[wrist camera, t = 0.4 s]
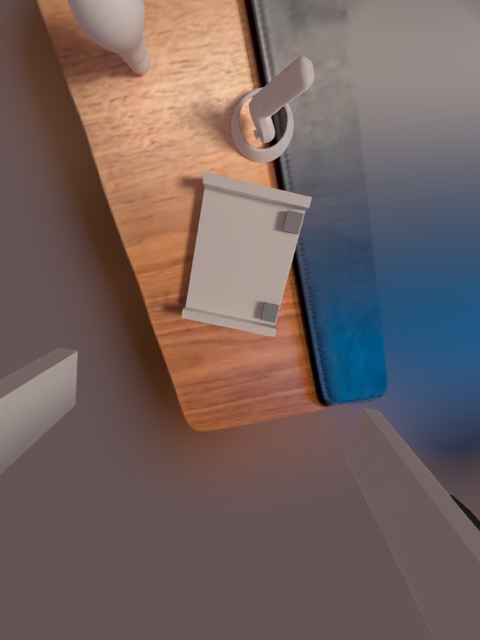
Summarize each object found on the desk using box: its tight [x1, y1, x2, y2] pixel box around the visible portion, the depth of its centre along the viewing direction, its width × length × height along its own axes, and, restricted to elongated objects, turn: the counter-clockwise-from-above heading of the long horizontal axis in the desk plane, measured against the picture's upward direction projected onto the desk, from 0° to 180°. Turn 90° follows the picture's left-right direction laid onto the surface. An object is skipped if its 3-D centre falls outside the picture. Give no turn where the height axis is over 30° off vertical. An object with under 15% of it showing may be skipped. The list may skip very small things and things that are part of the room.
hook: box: [231, 56, 314, 163], centre depth 28 cm, size 8×12×7 cm
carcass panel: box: [181, 172, 312, 337], centre depth 33 cm, size 18×13×3 cm
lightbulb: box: [68, 0, 151, 75], centre depth 24 cm, size 6×6×11 cm
